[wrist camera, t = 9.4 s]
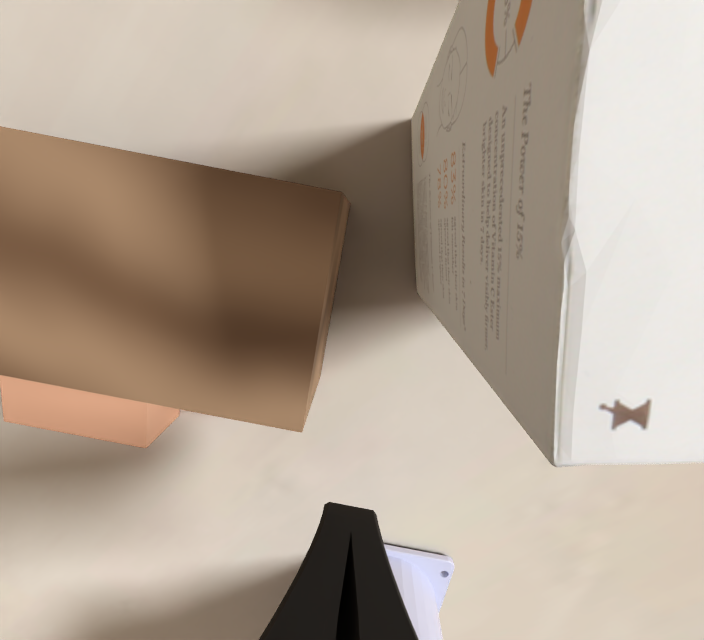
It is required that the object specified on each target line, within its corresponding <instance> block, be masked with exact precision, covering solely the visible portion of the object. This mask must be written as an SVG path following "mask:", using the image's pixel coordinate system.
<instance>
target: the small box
mask: <svg viewBox="0 0 704 640" xmlns="http://www.w3.org/2000/svg"><path fill="white" fill-rule="evenodd" d="M411 127H412V175H413V208H414V238H415V266H416V284H417V294H418V295H419V296H420V297H421V298H422V300H423V301H424V302H425V304H426V305H427V306H428V307H429V308H430V310H431V311H432V312H433V313H434V314H435V316H436V317H437V318H438V320H439V321H440V322H441V323H442V325H443V326H444V327H445V329H446V330H447V331H448V333H449V334H450V335H451V337H452V338H453V339H454V340H455V342H456V343H457V344H458V345H459V347H460V348H461V349H462V350H463V352H464V353H465V354H466V356H467V357H468V358H469V359H470V361H471V362H472V363H473V365H474V366H475V367H476V368H477V370H478V371H479V372H480V373H481V375H482V376H483V377H484V379H485V380H486V381H487V382H488V384H489V385H490V386H491V388H492V389H493V390H494V391H495V393H496V394H497V395H498V397H499V398H500V399H501V400H502V402H503V403H504V404H505V406H506V407H507V408H508V409H509V411H510V412H511V413H512V415H513V416H514V417H515V418H516V420H517V421H518V422H519V423H520V425H521V426H522V427H523V429H524V430H525V431H526V432H527V434H528V435H529V436H530V438H531V439H532V440H533V441H534V443H535V444H536V445H537V447H538V448H539V449H540V450H541V452H542V453H543V454H544V456H545V457H546V458H547V459H548V461H549V462H550V463H551V464H552V465H554V466H555V467H568V466H580V465H625V464H681V463H704V0H460V1H459V3H458V6H457V8H456V11H455V13H454V16H453V18H452V21H451V23H450V25H449V28H448V30H447V33H446V35H445V38H444V40H443V43H442V45H441V48H440V51H439V53H438V56H437V58H436V61H435V63H434V66H433V68H432V71H431V73H430V76H429V78H428V81H427V83H426V85H425V88H424V90H423V93H422V95H421V98H420V100H419V103H418V105H417V108H416V110H415V112H414V114H413V117H412V119H411Z"/></svg>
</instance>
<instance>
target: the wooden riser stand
mask: <svg viewBox="0 0 704 640" xmlns="http://www.w3.org/2000/svg"><path fill="white" fill-rule="evenodd" d="M349 208H350V202H349V201H348V199H347V198H346V197H345V195H344V194H343V193H342V192H339V191H334V190H329V189H324V188H318V187H313V186H308V185H303V184H298V183H292V182H287V181H282V180H277V179H271V178H266V177H261V176H256V175H251V174H245V173H240V172H235V171H230V170H225V169H219V168H214V167H209V166H204V165H199V164H193V163H188V162H183V161H178V160H173V159H167V158H162V157H157V156H152V155H146V154H141V153H136V152H131V151H126V150H120V149H115V148H110V147H105V146H100V145H94V144H89V143H84V142H79V141H74V140H68V139H63V138H58V137H53V136H48V135H42V134H37V133H32V132H27V131H21V130H16V129H11V128H6V127H1V126H0V375H3V376H8V377H13V378H19V379H24V380H29V381H34V382H40V383H45V384H50V385H55V386H61V387H66V388H71V389H76V390H82V391H87V392H92V393H97V394H103V395H108V396H113V397H118V398H123V399H129V400H134V401H139V402H144V403H150V404H155V405H160V406H165V407H171V408H176V409H181V410H186V411H192V412H197V413H202V414H207V415H213V416H218V417H223V418H228V419H234V420H239V421H244V422H249V423H255V424H260V425H265V426H270V427H276V428H281V429H286V430H291V431H296V432H302V431H303V428H304V425H305V422H306V419H307V416H308V412H309V409H310V406H311V403H312V400H313V397H314V394H315V391H316V388H317V385H318V382H319V379H320V375H321V369H322V364H323V358H324V352H325V346H326V341H327V335H328V329H329V323H330V318H331V312H332V306H333V300H334V295H335V289H336V283H337V277H338V272H339V266H340V260H341V254H342V249H343V243H344V237H345V231H346V226H347V220H348V214H349Z"/></svg>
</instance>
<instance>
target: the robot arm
mask: <svg viewBox="0 0 704 640" xmlns="http://www.w3.org/2000/svg"><path fill="white" fill-rule="evenodd" d="M453 571H454V562H453V560H452V559H451V558H450V557H448V556H444V555H438V554H433V553H428V552H423V551H417V550H412V549H407V548H402V547H396V546H391V545H386V544H384V543H383V540H382V536H381V533H380V529H379V525H378V521H377V516H376V514H375V512H374V511H373V510H369V509H363V508H358V507H353V506H348V505H342V504H337V503H332V502H328V503H327V504H325V505H324V510H323V514H322V517H321V521H320V524H319V526H318V529H317V532H316V534H315V536H314V539H313V541H312V544H311V546H310V548H309V550H308V552H307V554H306V556H305V558H304V560H303V563H302V565H301V567H300V569H299V571H298V573H297V575H296V577H295V579H294V580H293V582H292V584H291V586H290V588H289V589H288V591H287V593H286V595H285V597H284V598H283V600H282V602H281V604H280V605H279V607H278V609H277V611H276V612H275V614H274V616H273V618H272V619H271V621H270V622H269V624H268V626H267V627H266V629H265V631H264V632H263V634H262V635H261V637H260V639H259V640H443V636H442V631H441V625H440V620H439V611H440V609H441V606H442V603H443V600H444V597H445V594H446V591H447V588H448V585H449V582H450V580H451V577H452V574H453Z"/></svg>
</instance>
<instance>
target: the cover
mask: <svg viewBox="0 0 704 640" xmlns="http://www.w3.org/2000/svg"><path fill="white" fill-rule="evenodd" d="M0 387H1V397H2V407H3V417H4V421H5V422H11V423H16V424H21V425H26V426H32V427H37V428H42V429H47V430H53V431H58V432H63V433H68V434H74V435H79V436H84V437H89V438H95V439H100V440H105V441H110V442H116V443H121V444H126V445H131V446H137V447H142V448H147V447H148V446H149V445H150V444H151V443H152V442H153V441H154V440H155V439H156V438H157V437H158V436H159V435H160V434H161V433H162V432H163V431H164V430H165V429H166V428H167V427H168V426H169V425H170V424H171V423H172V422H173V421H174V420H175V419H176V418H177V417H178V416H179V412H180V409H176V408H171V407H165V406H160V405H155V404H150V403H144V402H139V401H134V400H129V399H123V398H118V397H113V396H108V395H103V394H97V393H92V392H87V391H82V390H76V389H71V388H66V387H61V386H55V385H50V384H45V383H40V382H34V381H29V380H24V379H19V378H13V377H8V376H3V375H0Z"/></svg>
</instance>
